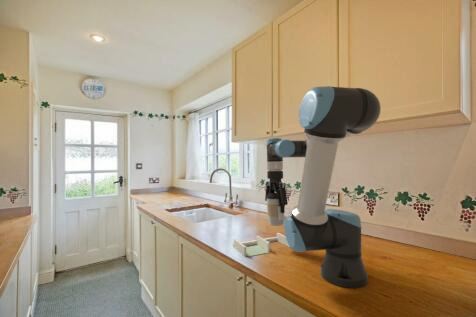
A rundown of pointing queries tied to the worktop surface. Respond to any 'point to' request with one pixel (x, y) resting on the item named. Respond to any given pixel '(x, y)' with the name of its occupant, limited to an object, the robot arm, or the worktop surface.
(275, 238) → the e-shaped divided frame
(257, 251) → the pad
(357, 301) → the worktop surface
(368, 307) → the worktop surface
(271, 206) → the coffee cup
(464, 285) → the worktop surface
